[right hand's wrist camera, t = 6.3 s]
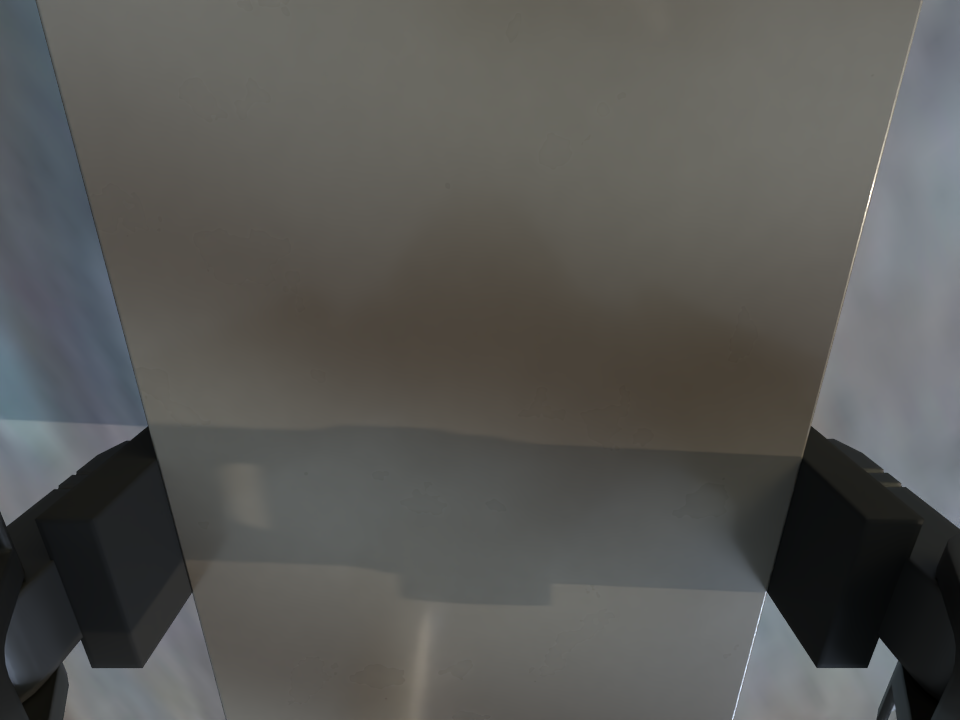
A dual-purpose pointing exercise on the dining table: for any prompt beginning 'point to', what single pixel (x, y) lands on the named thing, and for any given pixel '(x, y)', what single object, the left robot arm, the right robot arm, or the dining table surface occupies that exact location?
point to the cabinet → (479, 327)
